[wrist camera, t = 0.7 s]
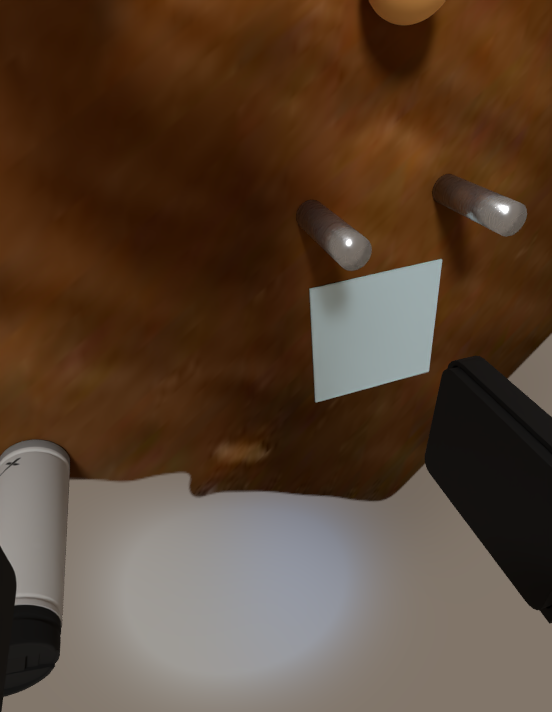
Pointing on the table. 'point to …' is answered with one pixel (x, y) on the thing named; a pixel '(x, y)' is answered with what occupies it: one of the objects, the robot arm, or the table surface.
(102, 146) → the table surface
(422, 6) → the ball
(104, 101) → the table surface
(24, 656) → the travel mug
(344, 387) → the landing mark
